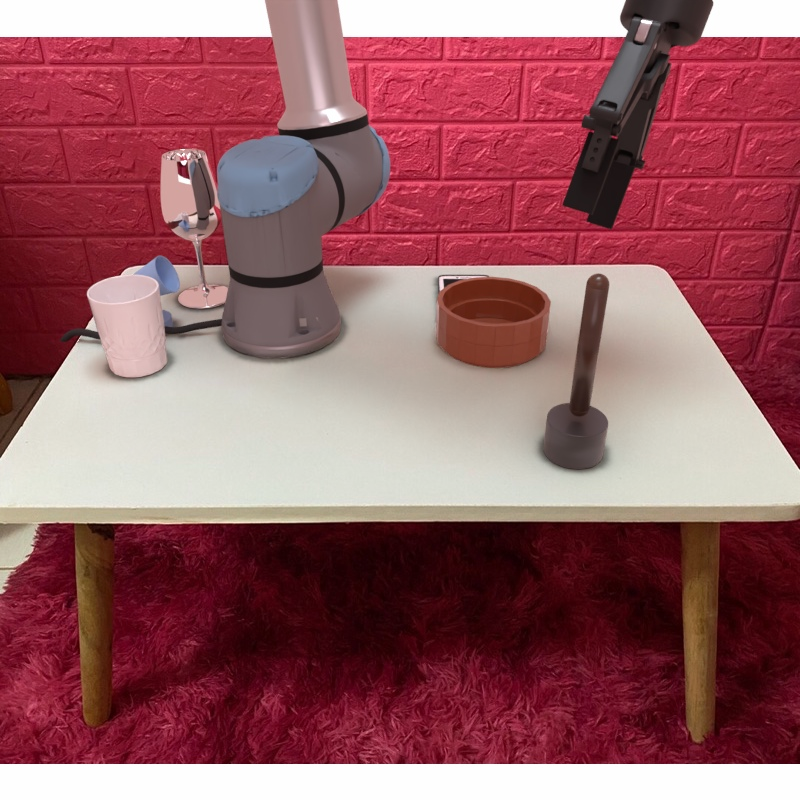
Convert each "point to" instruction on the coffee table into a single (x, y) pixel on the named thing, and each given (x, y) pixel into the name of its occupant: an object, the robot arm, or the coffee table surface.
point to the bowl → (492, 321)
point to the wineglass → (192, 214)
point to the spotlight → (162, 280)
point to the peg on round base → (581, 392)
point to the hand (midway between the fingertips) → (588, 218)
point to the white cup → (130, 324)
